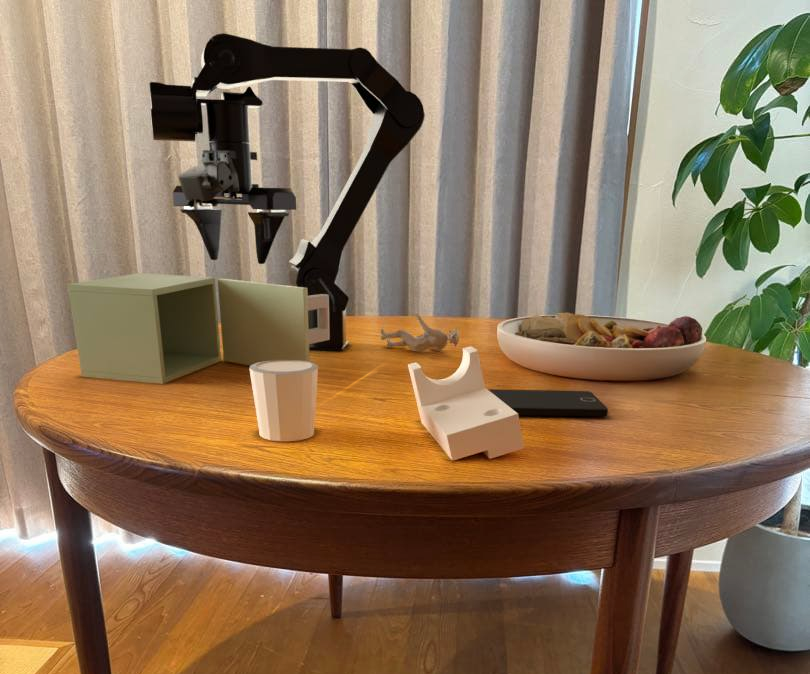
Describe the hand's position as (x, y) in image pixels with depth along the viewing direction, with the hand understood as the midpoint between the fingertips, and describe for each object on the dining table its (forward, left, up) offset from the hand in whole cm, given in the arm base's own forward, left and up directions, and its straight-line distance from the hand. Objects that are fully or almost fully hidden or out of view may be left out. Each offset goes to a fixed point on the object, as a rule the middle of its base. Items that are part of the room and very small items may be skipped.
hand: (237, 261), depth 113 cm
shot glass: (-17, +42, -13) cm, 47 cm away
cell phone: (-42, +27, -13) cm, 52 cm away
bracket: (-35, +41, -13) cm, 55 cm away
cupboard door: (-8, +9, -13) cm, 18 cm away
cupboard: (+8, +15, -13) cm, 21 cm away
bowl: (-54, -1, -13) cm, 56 cm away
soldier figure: (-27, -5, -13) cm, 30 cm away
